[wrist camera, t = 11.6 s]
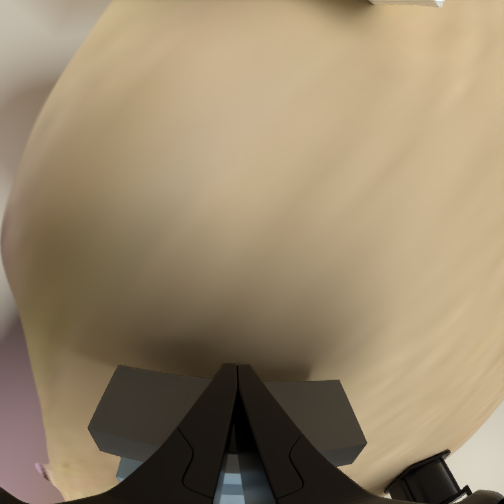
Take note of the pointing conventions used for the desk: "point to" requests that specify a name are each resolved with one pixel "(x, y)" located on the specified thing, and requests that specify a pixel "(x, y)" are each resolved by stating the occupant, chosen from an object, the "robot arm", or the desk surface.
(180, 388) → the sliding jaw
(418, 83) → the desk surface
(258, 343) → the desk surface
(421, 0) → the figurine
